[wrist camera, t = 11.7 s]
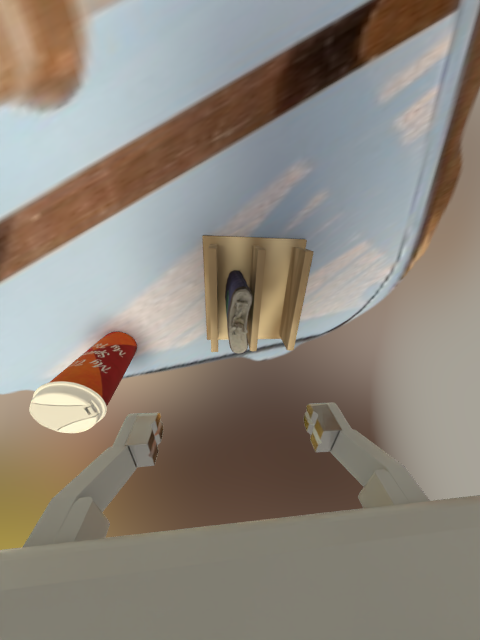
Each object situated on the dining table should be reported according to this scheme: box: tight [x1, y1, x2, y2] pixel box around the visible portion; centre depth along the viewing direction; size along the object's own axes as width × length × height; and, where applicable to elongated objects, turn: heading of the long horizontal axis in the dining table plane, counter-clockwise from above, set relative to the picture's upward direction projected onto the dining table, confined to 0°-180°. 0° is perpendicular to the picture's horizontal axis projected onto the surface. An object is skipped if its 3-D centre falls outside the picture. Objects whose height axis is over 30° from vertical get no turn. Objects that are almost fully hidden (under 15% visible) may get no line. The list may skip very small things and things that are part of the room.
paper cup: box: [29, 332, 137, 433], centre depth 28 cm, size 8×8×14 cm
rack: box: [203, 235, 313, 352], centre depth 29 cm, size 15×17×6 cm
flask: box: [225, 270, 253, 354], centre depth 26 cm, size 9×3×11 cm, turn 177°
